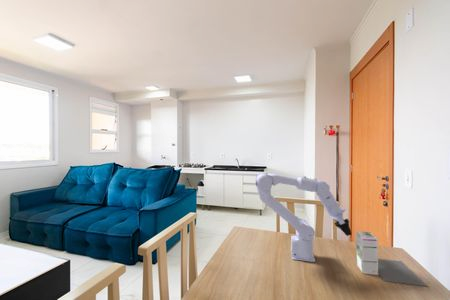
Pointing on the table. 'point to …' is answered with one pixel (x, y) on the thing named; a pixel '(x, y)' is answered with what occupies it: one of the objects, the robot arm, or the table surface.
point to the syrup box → (367, 252)
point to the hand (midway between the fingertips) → (346, 230)
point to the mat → (397, 272)
